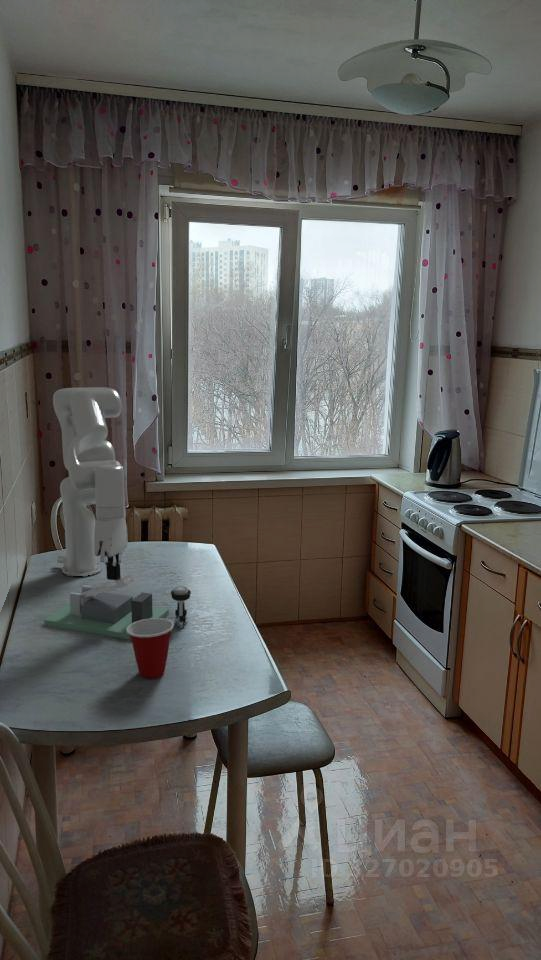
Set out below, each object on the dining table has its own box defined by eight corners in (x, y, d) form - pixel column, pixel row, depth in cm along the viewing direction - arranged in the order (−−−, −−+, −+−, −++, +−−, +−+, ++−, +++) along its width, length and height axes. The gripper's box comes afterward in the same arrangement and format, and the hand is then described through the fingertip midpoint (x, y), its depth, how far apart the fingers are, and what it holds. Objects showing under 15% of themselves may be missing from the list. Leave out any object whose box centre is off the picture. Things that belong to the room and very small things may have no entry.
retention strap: (76, 600, 192) (73, 592, 191) (85, 594, 196) (82, 587, 196) (126, 586, 186) (123, 578, 186) (134, 581, 190) (131, 573, 190)
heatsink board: (44, 624, 188) (42, 596, 186) (81, 600, 205) (80, 574, 203) (137, 640, 180) (137, 611, 178) (169, 614, 197) (168, 587, 195)
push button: (190, 629, 187) (190, 593, 185) (170, 629, 187) (170, 594, 184) (190, 619, 194) (190, 584, 191) (171, 619, 193) (170, 585, 191)
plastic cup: (153, 657, 171) (152, 611, 168) (184, 671, 164) (183, 624, 162) (117, 674, 163) (116, 625, 160) (148, 689, 156) (147, 639, 153)
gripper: (112, 505, 193) (115, 569, 196) (82, 517, 179) (86, 586, 182) (137, 507, 191) (139, 572, 194) (108, 519, 177) (111, 589, 180)
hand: (113, 578), depth 188 cm, fingers closed
